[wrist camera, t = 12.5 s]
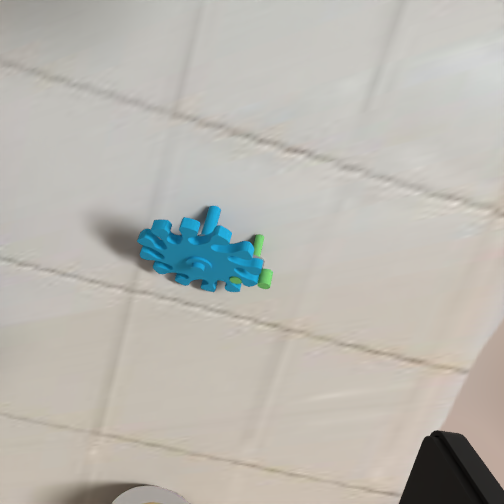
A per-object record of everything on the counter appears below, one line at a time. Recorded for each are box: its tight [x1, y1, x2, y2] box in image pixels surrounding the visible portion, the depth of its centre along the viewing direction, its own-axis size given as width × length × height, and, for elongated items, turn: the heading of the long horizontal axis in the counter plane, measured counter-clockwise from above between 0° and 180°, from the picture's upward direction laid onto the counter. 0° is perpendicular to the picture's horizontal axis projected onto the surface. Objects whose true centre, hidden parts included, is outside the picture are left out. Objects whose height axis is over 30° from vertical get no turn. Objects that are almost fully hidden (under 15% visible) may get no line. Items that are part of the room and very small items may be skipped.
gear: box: [137, 206, 273, 292], centre depth 36 cm, size 11×6×10 cm
